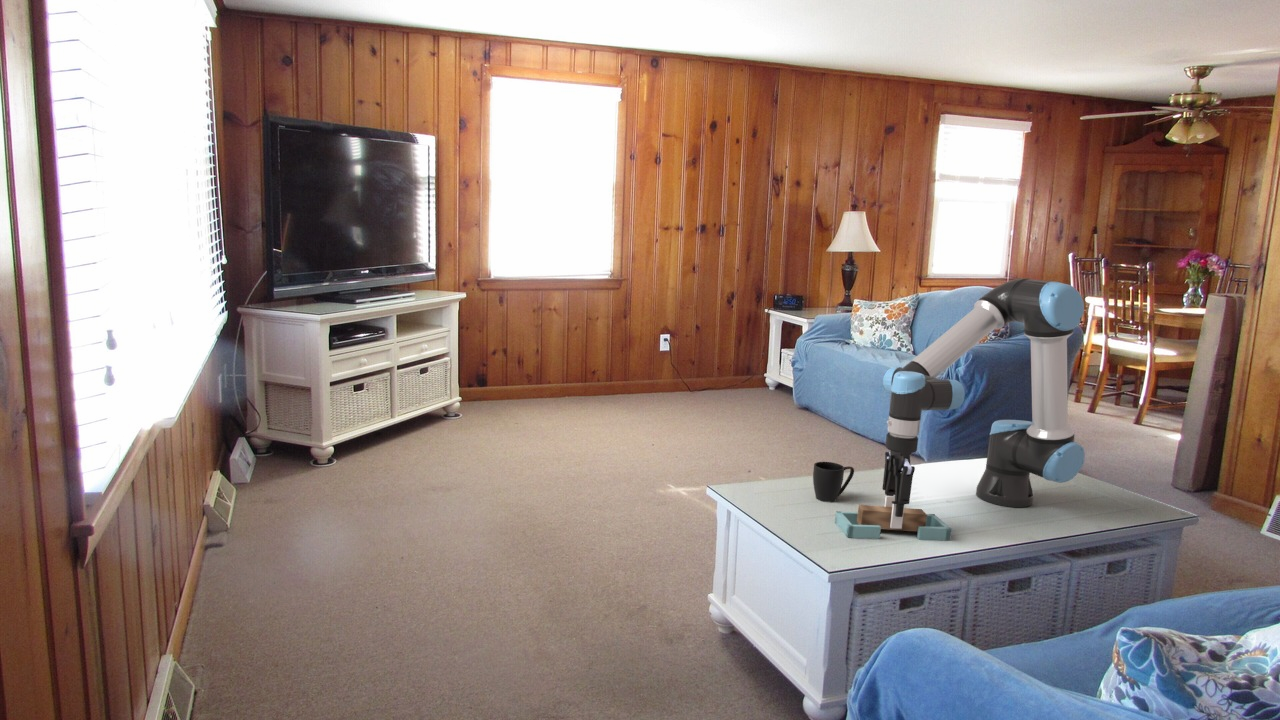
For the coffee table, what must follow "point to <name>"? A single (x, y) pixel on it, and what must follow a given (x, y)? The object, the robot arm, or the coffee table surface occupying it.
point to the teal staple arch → (934, 529)
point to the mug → (829, 480)
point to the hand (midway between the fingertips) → (892, 524)
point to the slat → (883, 517)
